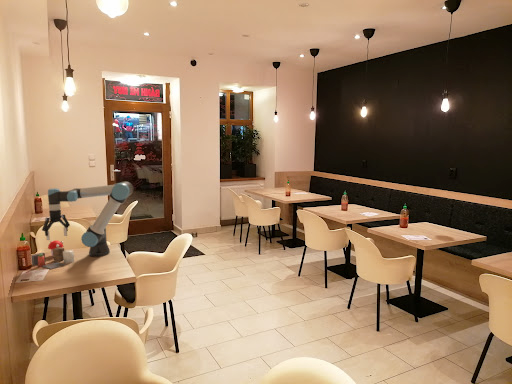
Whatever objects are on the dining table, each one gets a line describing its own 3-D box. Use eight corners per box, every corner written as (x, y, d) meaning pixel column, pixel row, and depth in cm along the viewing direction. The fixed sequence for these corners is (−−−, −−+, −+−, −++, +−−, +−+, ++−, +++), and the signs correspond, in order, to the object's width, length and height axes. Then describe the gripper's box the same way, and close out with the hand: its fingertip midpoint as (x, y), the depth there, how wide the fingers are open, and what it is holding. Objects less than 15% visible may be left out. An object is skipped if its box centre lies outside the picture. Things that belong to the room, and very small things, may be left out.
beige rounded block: (70, 259, 287) (69, 249, 285) (76, 261, 283) (75, 250, 282) (61, 262, 281) (60, 251, 279) (67, 263, 277) (66, 253, 276)
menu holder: (43, 261, 283) (42, 252, 282) (45, 262, 281) (44, 253, 280) (32, 264, 276) (31, 255, 275) (34, 265, 275) (33, 256, 274)
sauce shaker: (42, 264, 276) (41, 253, 275) (46, 265, 274) (45, 253, 273) (37, 266, 273) (36, 254, 272) (40, 267, 271) (39, 255, 270)
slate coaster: (56, 262, 280) (56, 261, 280) (65, 264, 275) (65, 264, 275) (41, 266, 271) (41, 266, 271) (51, 269, 265) (50, 268, 265)
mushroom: (67, 254, 299) (66, 239, 298) (53, 258, 290) (52, 243, 289) (59, 252, 305) (58, 238, 303) (45, 256, 296) (44, 241, 294)
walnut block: (60, 258, 290) (59, 247, 288) (65, 259, 287) (64, 248, 286) (53, 260, 285) (52, 248, 284) (58, 261, 282) (57, 249, 281)
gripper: (67, 206, 293) (69, 233, 296) (35, 212, 272) (37, 241, 275) (73, 207, 289) (75, 234, 292) (41, 213, 268) (43, 242, 271)
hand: (57, 237), depth 284 cm, fingers open, 13 cm apart
